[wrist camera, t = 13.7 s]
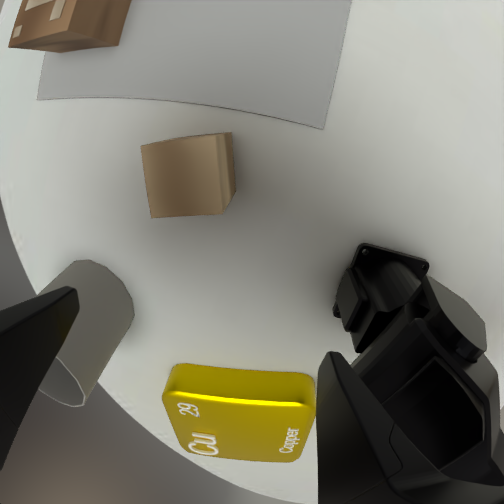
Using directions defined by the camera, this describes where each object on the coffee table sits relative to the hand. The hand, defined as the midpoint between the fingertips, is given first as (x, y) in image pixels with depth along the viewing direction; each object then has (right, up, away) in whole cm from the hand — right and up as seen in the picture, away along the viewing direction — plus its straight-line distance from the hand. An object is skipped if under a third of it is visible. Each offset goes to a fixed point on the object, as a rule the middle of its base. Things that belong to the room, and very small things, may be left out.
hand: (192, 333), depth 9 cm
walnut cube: (-10, +18, -1) cm, 21 cm away
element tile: (+1, -15, +21) cm, 26 cm away
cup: (-13, -2, +16) cm, 20 cm away
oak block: (-1, +8, +10) cm, 13 cm away
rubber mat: (-3, +19, +5) cm, 20 cm away
